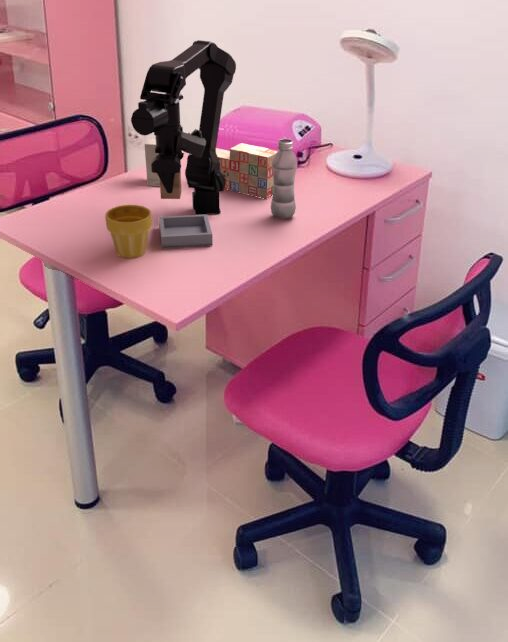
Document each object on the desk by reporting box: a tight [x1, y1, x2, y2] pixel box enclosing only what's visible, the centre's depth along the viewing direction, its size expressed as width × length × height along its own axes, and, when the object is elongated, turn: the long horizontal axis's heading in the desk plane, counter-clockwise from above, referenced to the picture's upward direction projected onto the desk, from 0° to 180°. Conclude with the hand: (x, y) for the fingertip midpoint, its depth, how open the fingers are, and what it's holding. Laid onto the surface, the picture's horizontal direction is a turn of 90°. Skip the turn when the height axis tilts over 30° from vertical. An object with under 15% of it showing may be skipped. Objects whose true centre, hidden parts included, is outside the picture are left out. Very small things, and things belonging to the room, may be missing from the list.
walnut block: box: [159, 169, 182, 200], centre depth 170 cm, size 4×4×6 cm
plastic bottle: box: [270, 138, 298, 220], centre depth 183 cm, size 6×7×20 cm
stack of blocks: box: [216, 142, 278, 200], centre depth 202 cm, size 21×6×12 cm, turn 58°
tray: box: [158, 214, 214, 249], centre depth 176 cm, size 12×12×3 cm
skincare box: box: [144, 137, 160, 187], centre depth 205 cm, size 6×4×12 cm
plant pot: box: [104, 204, 153, 259], centre depth 166 cm, size 10×10×10 cm
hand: (170, 189), depth 171 cm, fingers closed on walnut block, 4 cm apart
